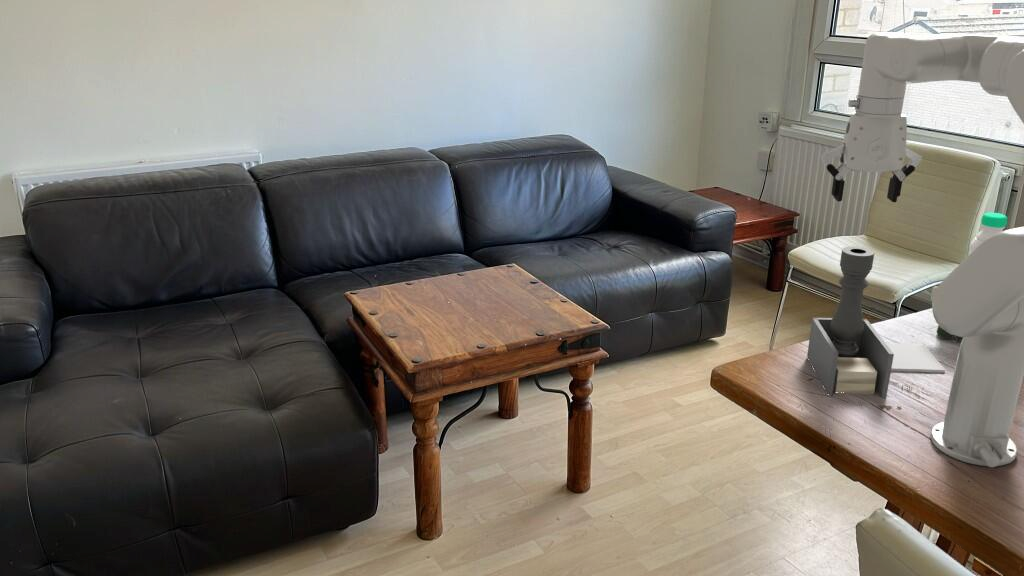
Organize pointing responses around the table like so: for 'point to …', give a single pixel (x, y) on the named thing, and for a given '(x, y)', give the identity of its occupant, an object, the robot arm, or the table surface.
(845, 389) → the block
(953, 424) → the robot arm
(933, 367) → the mat
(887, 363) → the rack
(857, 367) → the upper offcut
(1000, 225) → the water bottle
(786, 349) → the table surface
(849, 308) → the candle holder
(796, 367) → the table surface
